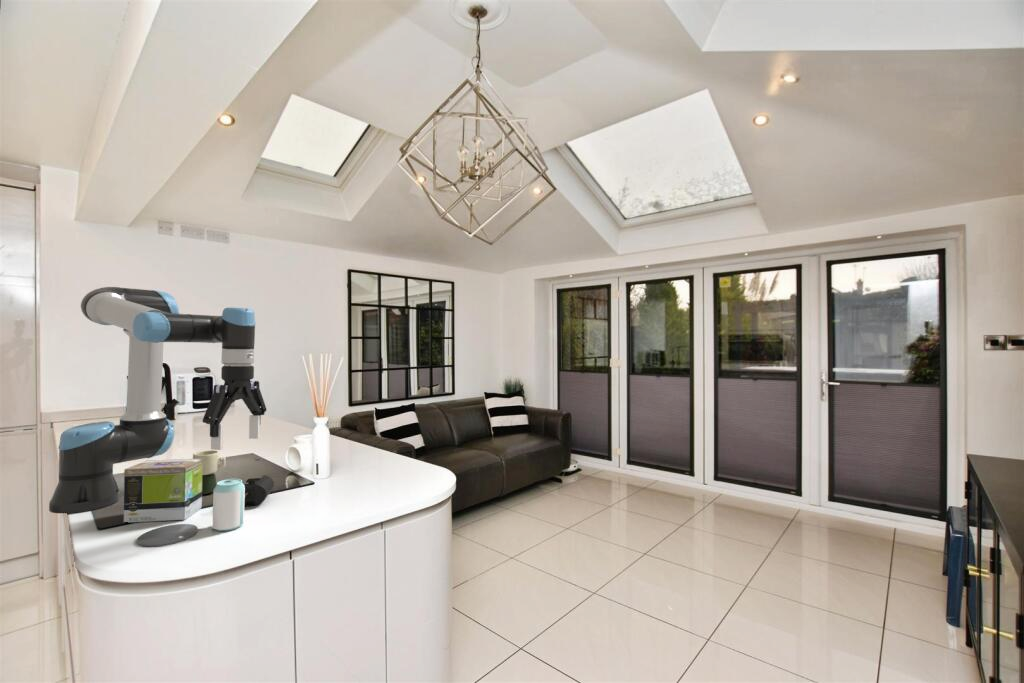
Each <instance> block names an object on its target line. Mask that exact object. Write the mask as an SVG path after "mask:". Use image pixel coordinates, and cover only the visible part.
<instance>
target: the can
mask: <svg viewBox="0 0 1024 683" xmlns="http://www.w3.org/2000/svg"><path fill="white" fill-rule="evenodd" d="M216 483H217V486H216V487H215V488H214V490H213V492H212V493H213V496H212V498H213V499H212V500H213V502H212V529H214V530H215V531H218V532H229V531H233V530H236V529H238V528H240V527H241V526H242V525H243V524H244V523H245V508H244V500H245V497H246V495H245V494H246V493H245V485H244V484H245V483H243V479H241V478H227V479H222V480H220V481H217V482H216Z"/></svg>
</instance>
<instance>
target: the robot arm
mask: <svg viewBox="0 0 1024 683" xmlns="http://www.w3.org/2000/svg"><path fill="white" fill-rule="evenodd" d="M80 310H81V312H82V314H83V315H84V317H85V318H86V319H88V320H89V321H90V322H93V323H95V324H99V325H103V326H115V327H118V328H120V329H123V332H124V334H126V335H127V336H128V337H129V338H128V341H129V342H128V343H129V344H128V360H127V361H128V365H127V389H126V411H125V413H124V414H122V415H121V416H120V417H119V424H116V425H115V423H114V422H112V421H99V422H98V421H97V422H90V423H89V422H88V423H84V424H83V423H82V424H79V425H75V426H72V427H70V428H67V429H65V430H64V431H62V432H61V434H60V437H59V445H58V450H59V451H58V452H59V453H58V454H59V455H58V482H57V485H56V487H55V489H54V492H53V494H52V497H51V499H50V501H49V503H48V506H49V507H48V510H49V512H50V513H53V514H75V513H82V512H88V511H94V510H97V509H102V508H104V507H108V506H111V505H114V504H115V503H117V502H119V501H120V500H121V498H120V497H121V491H120V489H119V487H118V486H119V485H118V484H117V481H116V479H115V477H114V476H115V475H114V465H115V464H121V463H126V462H130V461H137V460H141V459H142V460H143V459H151V458H154V457H156V456H161V455H164V454H165V453H166V452H168V450H170V448H171V446H172V445H173V442H174V439H175V428H174V424H173V422H172V421H171V420H170V419H168V418H167V414H165V413H164V412H162V388H163V366H164V365H163V364H164V343H201V344H202V343H204V344H205V343H206V344H210V343H212V344H216V343H218V344H220V343H221V360H220V362H221V364H222V367H221V377H220V378H221V380H222V381H223V382H224V384H214V385H213V389H212V390H213V392H212V395H211V398H210V400H209V403H208V405H207V408H206V411H205V413H204V415H203V418H202V423H203V424H204V423H205V424H206V425H209V437H210V450H216V451H222V450H223V449H224V448H223V446H224V445H223V443H224V441H223V439H224V423H221V422H222V421H223V419H224V418H225V415H226V414H227V413H228V411H229V409H230V408H231V406H232V404H233V403H234V402H236V401H238V400H241V401H243V403H244V404H245V405H246V407H247V409H248V410H249V413H251V415H249V417H248V418H249V427H248V428H249V429H248V439H255V440H258V439H260V438H261V435H260V432H261V431H260V430H261V429H260V428H261V420H262V419H261V418H262V417H261V416H264V415H265V413H266V412H267V406H266V403H265V400H264V398H263V395H262V394H263V393H262V392H261V389H260V381H259V380H253V379H254V378H255V377H254V376H255V367H254V365H252V364H254V363H255V339H256V338H255V335H256V334H255V332H256V318H255V317H256V316H255V311H254V310H253V309H252V308H248V307H225V308H224V309H223V310H222V315H208V314H207V315H206V314H189V313H187V314H184V313H180V309H179V306H178V303H177V301H176V299H175V298H174V296H173V295H172V294H170V293H168V292H165V291H160V290H159V291H158V290H152V289H140V288H126V287H120V286H106V287H105V286H103V287H99V288H96V289H93V290H91V291H89V292H88V293H86V294H85V295H84V296H83V298H82V300H81V302H80Z"/></svg>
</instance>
